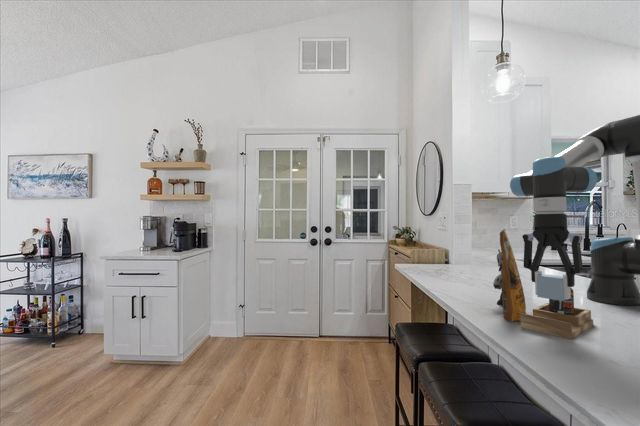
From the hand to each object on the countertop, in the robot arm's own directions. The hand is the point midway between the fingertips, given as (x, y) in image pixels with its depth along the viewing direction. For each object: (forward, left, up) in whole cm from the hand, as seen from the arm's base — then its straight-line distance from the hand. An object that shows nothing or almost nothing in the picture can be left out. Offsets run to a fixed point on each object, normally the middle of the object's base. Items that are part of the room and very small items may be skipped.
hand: (552, 296), depth 89 cm
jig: (-5, -1, -10) cm, 11 cm away
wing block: (0, 0, 0) cm, 0 cm away
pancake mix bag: (-7, -14, -10) cm, 18 cm away
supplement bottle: (-9, -1, -8) cm, 12 cm away
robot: (-19, -21, -10) cm, 31 cm away
